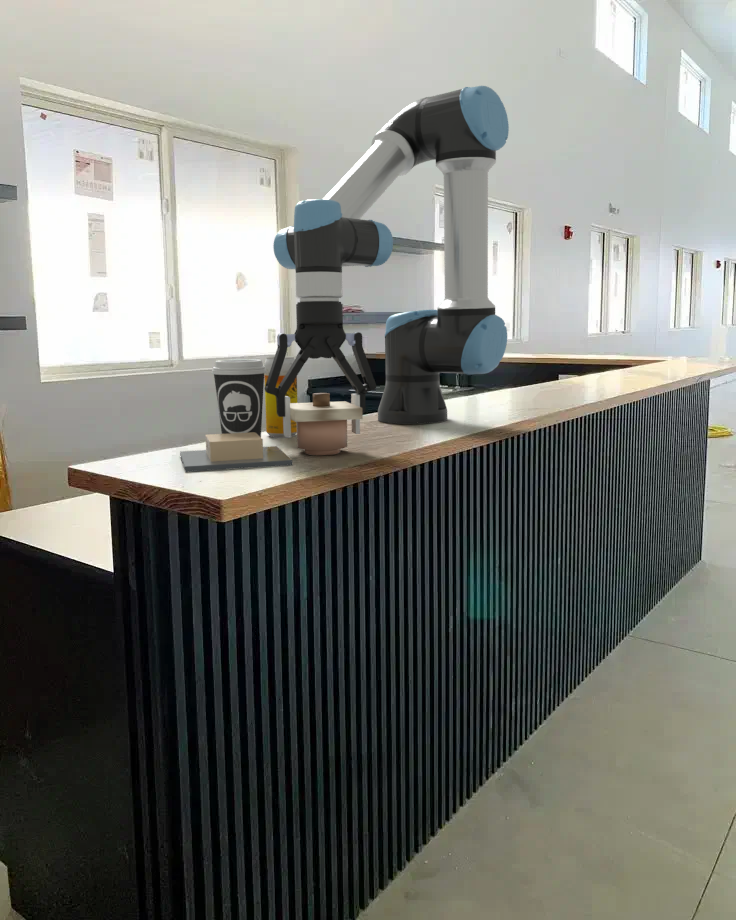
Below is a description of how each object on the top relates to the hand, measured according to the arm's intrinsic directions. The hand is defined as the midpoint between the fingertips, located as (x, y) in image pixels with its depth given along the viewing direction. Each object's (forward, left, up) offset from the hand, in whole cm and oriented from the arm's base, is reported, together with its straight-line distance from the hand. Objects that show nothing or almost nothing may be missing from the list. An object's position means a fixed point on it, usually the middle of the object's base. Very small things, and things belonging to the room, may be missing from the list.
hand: (322, 434), depth 131 cm
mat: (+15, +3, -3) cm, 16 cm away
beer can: (+3, -21, -3) cm, 21 cm away
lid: (0, 0, +3) cm, 3 cm away
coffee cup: (+12, -11, -3) cm, 17 cm away
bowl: (0, 0, -3) cm, 3 cm away
